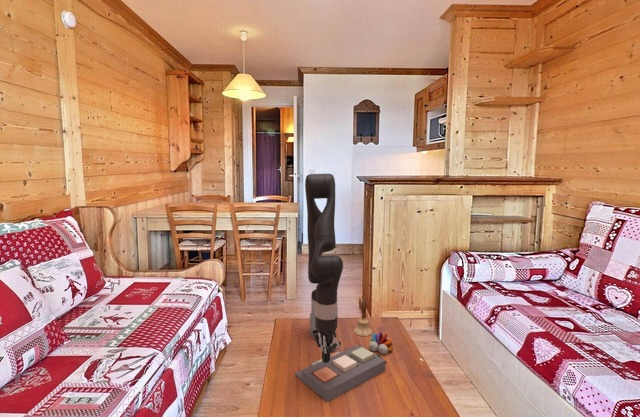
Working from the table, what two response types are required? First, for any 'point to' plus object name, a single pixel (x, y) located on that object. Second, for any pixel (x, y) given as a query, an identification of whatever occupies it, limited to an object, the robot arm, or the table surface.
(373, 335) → the rainbow petal flower toy
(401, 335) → the table surface
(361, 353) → the key sage
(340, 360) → the key cream
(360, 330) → the hand bell
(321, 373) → the key terracotta
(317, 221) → the robot arm
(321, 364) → the keypad
